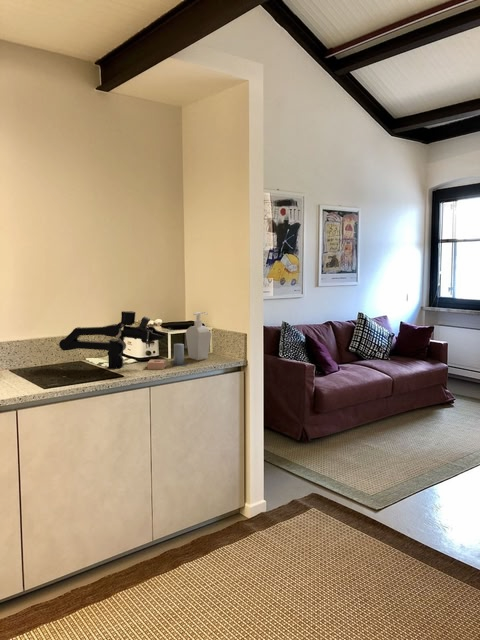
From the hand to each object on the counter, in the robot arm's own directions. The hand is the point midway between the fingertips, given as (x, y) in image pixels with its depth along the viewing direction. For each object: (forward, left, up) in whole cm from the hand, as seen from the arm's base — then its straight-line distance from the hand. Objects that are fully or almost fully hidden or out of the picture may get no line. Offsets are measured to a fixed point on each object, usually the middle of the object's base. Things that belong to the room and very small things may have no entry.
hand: (164, 336), depth 263 cm
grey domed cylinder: (+6, +8, -16) cm, 19 cm away
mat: (+6, +8, -16) cm, 19 cm away
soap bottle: (+15, +26, -16) cm, 34 cm away
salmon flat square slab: (-4, 0, -16) cm, 17 cm away
